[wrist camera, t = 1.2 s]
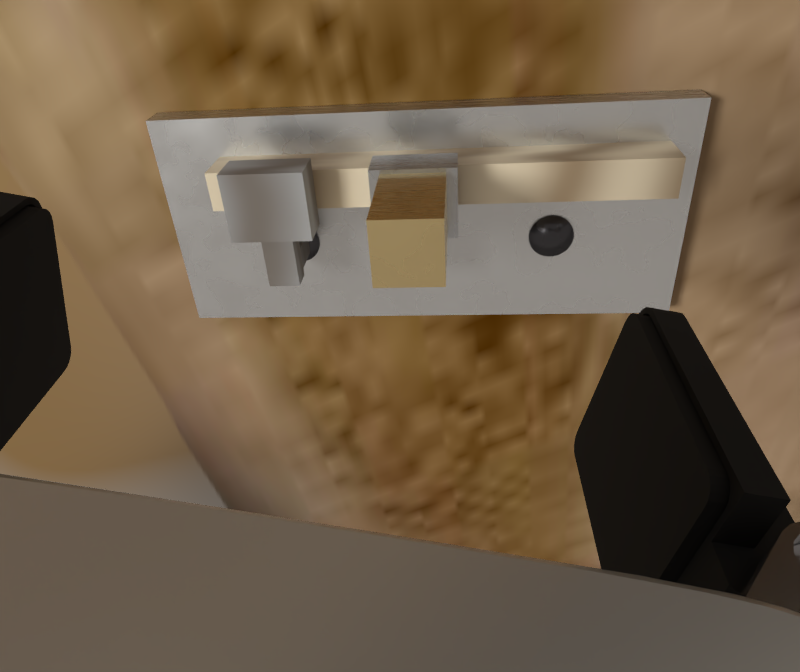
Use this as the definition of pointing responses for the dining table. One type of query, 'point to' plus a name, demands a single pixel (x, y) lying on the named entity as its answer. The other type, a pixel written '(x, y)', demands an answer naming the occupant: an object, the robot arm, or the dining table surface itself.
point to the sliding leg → (411, 218)
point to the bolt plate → (477, 223)
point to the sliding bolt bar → (477, 167)
